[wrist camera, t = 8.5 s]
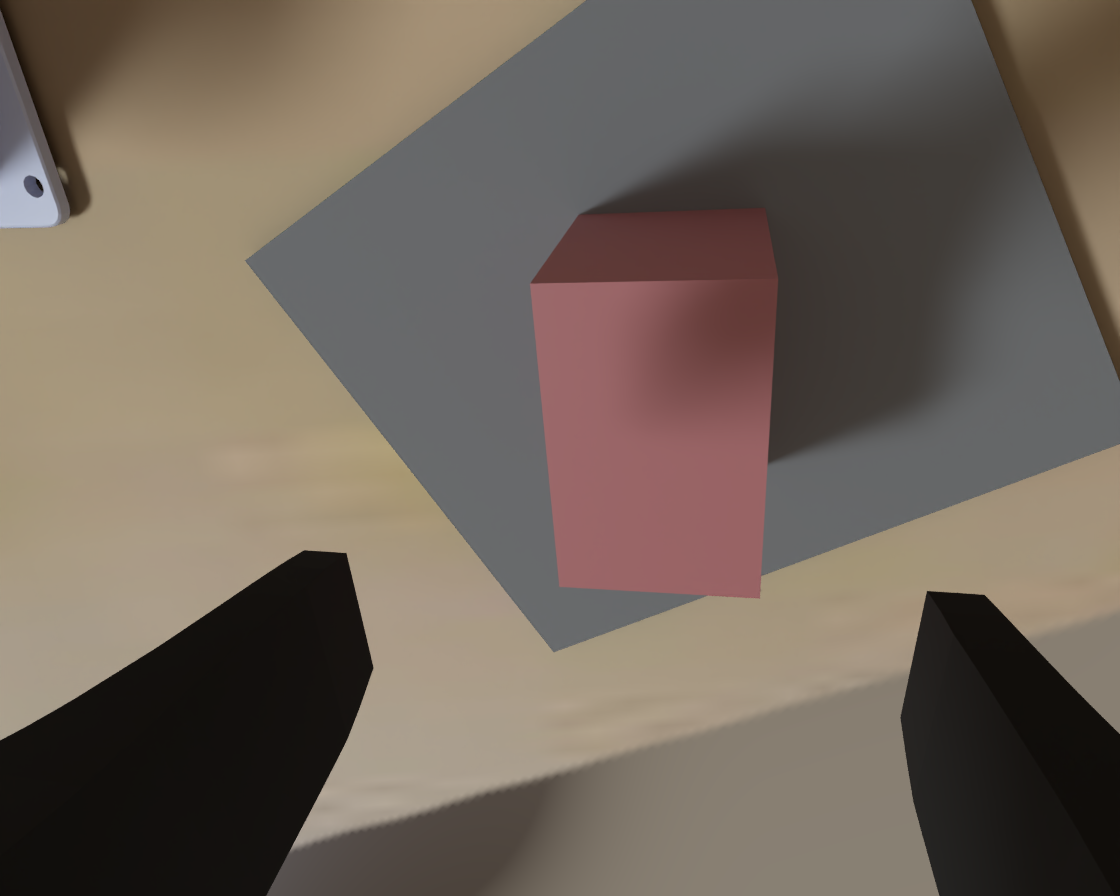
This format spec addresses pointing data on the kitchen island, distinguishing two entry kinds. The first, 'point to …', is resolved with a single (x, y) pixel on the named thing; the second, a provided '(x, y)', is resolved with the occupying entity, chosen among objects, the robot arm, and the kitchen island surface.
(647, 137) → the mat
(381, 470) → the kitchen island surface
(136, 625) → the kitchen island surface
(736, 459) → the card box
